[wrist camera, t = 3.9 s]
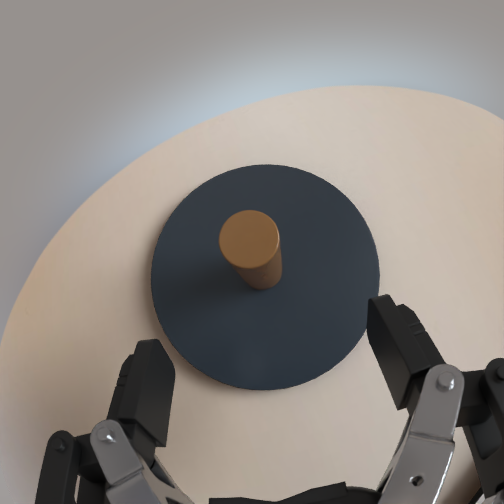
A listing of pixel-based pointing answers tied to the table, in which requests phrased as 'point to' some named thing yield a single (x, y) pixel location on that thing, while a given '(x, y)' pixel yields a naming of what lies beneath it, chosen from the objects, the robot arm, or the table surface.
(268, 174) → the lid
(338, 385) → the table surface
